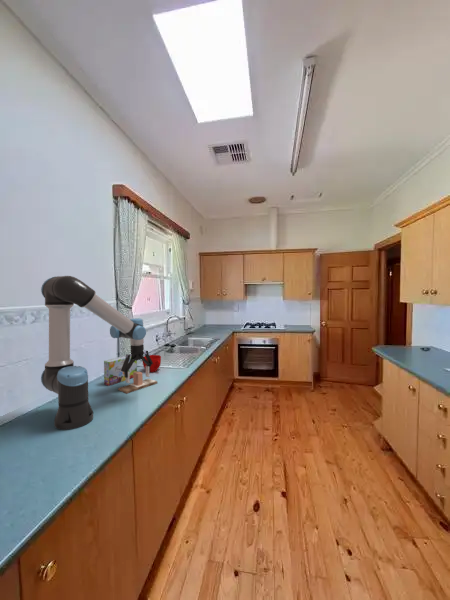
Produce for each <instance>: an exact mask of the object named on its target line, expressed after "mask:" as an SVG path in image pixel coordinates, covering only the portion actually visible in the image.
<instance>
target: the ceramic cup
mask: <svg viewBox="0 0 450 600" xmlns="http://www.w3.org/2000/svg"><path fill="white" fill-rule="evenodd" d="M143 356H144V358H145V359H146V360H147V358H146V356H145V355H143ZM149 356H150V358H151V360H152V362H153V364H151V366H150V371H149V373H155V372H157V370H158V369H159V368H160V367H161V364H162V363H161V362H162V356H161V355H159V354H149ZM147 361H148V360H147ZM142 366H143V368H144V370H146V366H147V365H146V364H145V363H144V362H143V361H142Z"/></svg>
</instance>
